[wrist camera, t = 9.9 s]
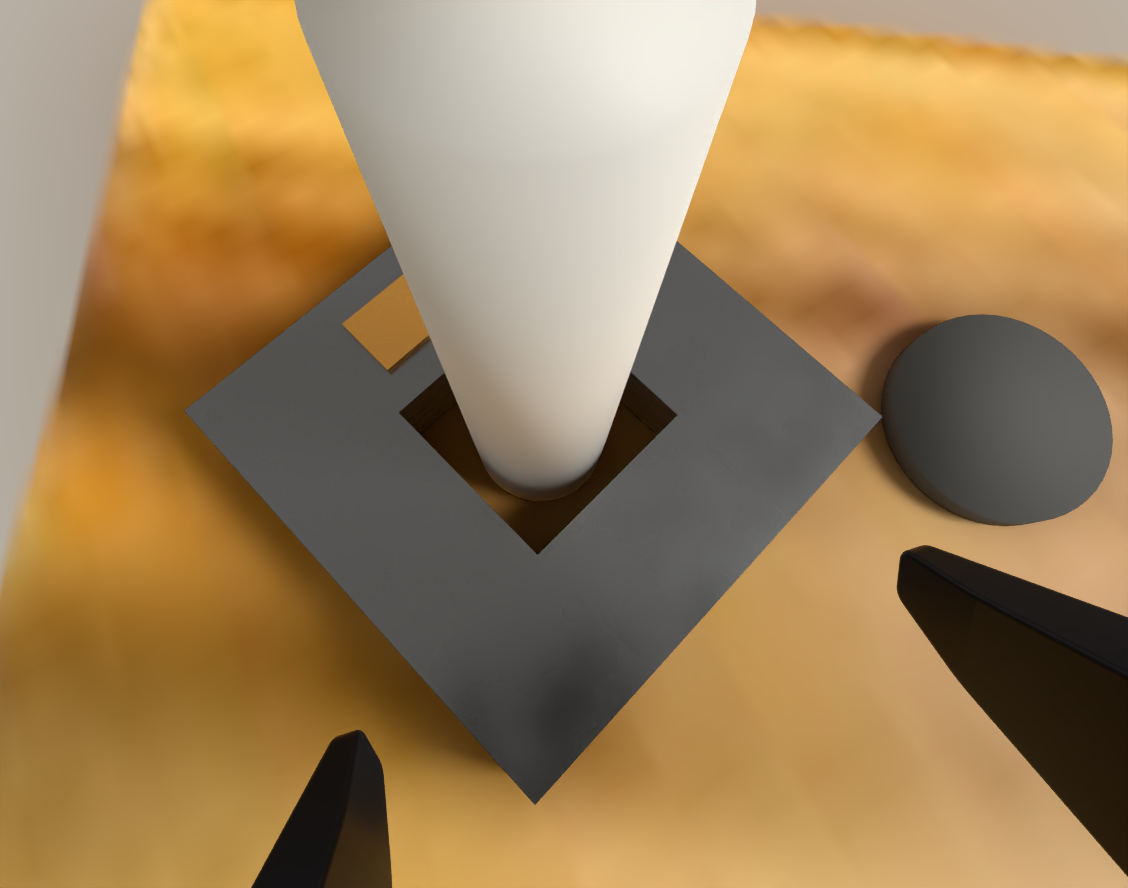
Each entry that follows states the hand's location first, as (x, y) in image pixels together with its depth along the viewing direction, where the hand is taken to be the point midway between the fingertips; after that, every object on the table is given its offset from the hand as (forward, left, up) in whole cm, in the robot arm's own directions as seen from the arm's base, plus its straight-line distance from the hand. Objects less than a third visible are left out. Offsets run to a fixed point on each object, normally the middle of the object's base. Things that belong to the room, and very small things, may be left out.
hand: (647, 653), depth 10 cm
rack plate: (+3, +6, -9) cm, 11 cm away
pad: (+14, -4, -9) cm, 17 cm away
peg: (+3, +6, -9) cm, 11 cm away
